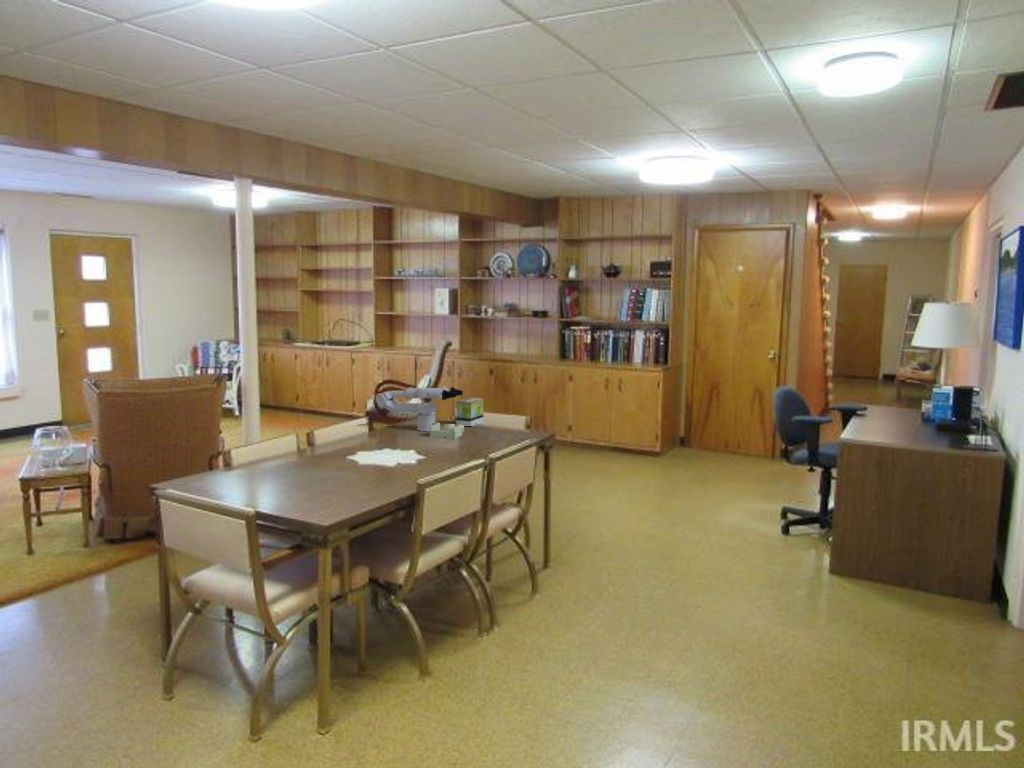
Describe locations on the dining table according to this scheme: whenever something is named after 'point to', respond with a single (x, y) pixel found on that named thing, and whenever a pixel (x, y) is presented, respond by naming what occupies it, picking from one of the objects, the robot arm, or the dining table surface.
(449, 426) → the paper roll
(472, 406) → the tea box
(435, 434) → the roll cradle
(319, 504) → the dining table surface
